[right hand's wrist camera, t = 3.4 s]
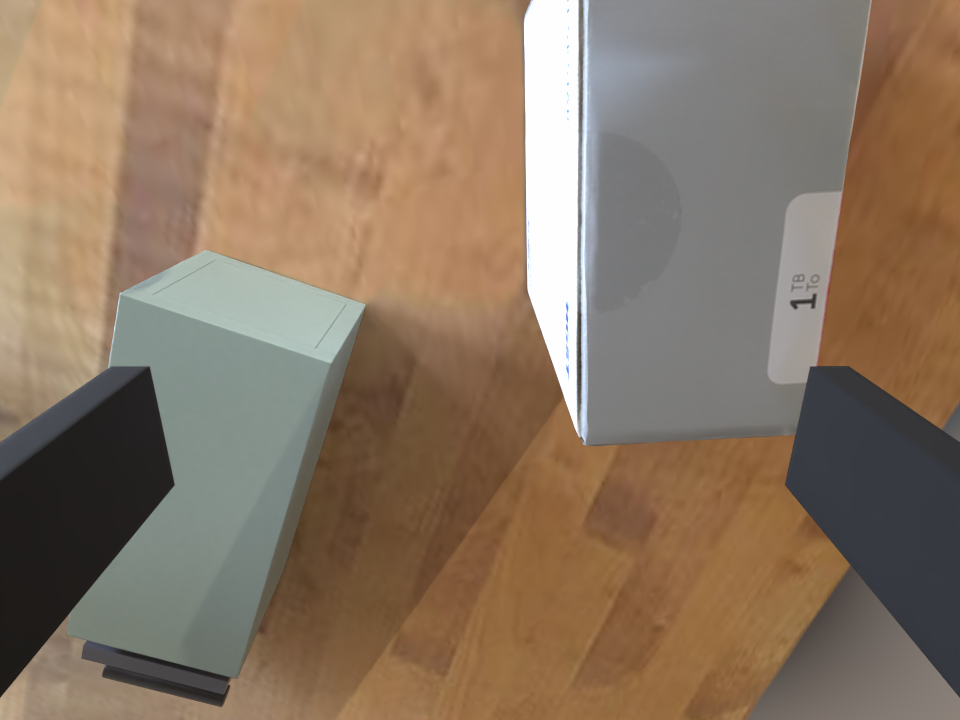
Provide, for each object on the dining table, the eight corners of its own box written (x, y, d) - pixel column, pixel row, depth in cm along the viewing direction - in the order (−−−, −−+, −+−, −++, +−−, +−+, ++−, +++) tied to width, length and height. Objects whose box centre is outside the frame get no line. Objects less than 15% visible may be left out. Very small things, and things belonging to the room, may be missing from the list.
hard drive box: (650, 286, 38) (808, 447, 20) (526, 292, 39) (569, 458, 20) (665, -1, 33) (906, -148, 14) (519, 8, 33) (570, -127, 14)
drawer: (247, 657, 49) (207, 752, 41) (132, 627, 48) (70, 719, 40) (335, 366, 40) (303, 423, 32) (196, 320, 38) (130, 368, 31)
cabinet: (284, 568, 47) (236, 679, 38) (148, 530, 45) (65, 635, 36) (366, 304, 39) (331, 363, 30) (206, 249, 38) (119, 293, 29)
